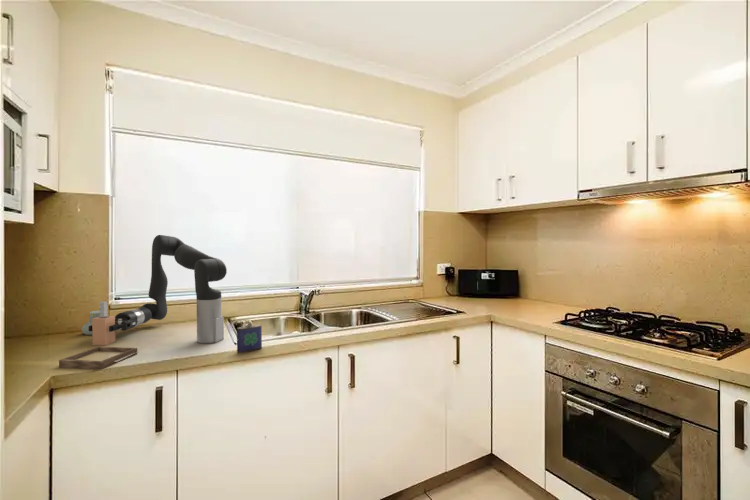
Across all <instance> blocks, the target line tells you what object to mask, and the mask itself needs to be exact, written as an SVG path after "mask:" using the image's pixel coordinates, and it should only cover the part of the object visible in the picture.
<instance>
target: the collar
mask: <svg viewBox="0 0 750 500" xmlns="http://www.w3.org/2000/svg"><path fill="white" fill-rule="evenodd" d="M115 316H116V315H108V318H100V317H97V318H93V319H92V333H93V335H92V344H93V345H92V346H99V345H106V346H108V345H107V344H109V345H111V344H113V343H112V342H114V343H116V342H115V341H116V330H115V331H112V332H109V326H111V325H114V324H115ZM110 343H111V344H110Z"/></svg>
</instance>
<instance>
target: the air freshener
mask: <svg viewBox="0 0 750 500" xmlns="http://www.w3.org/2000/svg"><path fill="white" fill-rule="evenodd" d="M97 317H100V311H99V310H93V311H90V312H89V313H88V321H87V322H86V323H84V324H83V326H82V327H81V333H82V334H84V335H85V336H93V333H92V331H89V326H90V325H92V319H93V318H97Z"/></svg>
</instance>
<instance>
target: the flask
mask: <svg viewBox="0 0 750 500" xmlns="http://www.w3.org/2000/svg"><path fill="white" fill-rule="evenodd" d="M262 331H263V330H262V324H255V325H253V322H252V321H249V322H248V324H247V325H244V326H243V325H241V327H240V326H239V327H237V328H236V350H237V351H236V352H237V353H238V354H242V353H243V354H244V353H249V352H252V351H253V352H254V351H257V350H261V349H262V348H263V347H262V346H263V345H262V343H263V341H262V338H263V336H262V335H263V334H262Z"/></svg>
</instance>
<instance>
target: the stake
mask: <svg viewBox="0 0 750 500" xmlns="http://www.w3.org/2000/svg"><path fill="white" fill-rule="evenodd" d="M98 305H99V309H98V311H100V318H108V316H109V315H108V314H109V312H108V311H109V310H108V309H109V307H108V301H104V300H103V301H99V303H98ZM114 343H117V340H115V342H112V343H110V344H107V345H98V347H99V346H101V347H107V346H108V345H111V344H114ZM91 346H94V345H93V343H92V344H91Z"/></svg>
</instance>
